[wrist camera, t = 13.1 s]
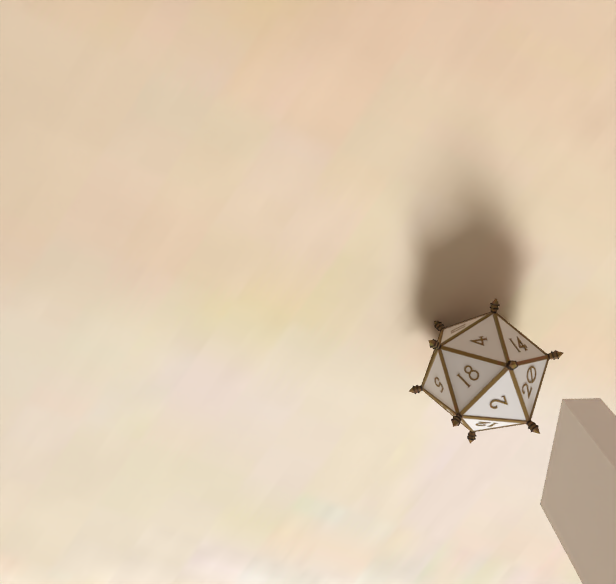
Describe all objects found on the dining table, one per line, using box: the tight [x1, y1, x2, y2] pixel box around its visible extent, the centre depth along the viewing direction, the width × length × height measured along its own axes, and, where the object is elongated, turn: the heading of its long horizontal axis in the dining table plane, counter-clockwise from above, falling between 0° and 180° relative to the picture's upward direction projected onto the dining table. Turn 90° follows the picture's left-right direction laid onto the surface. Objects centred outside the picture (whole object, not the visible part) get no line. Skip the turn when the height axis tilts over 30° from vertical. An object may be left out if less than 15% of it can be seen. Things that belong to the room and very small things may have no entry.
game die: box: [409, 299, 563, 443], centre depth 37 cm, size 9×8×10 cm
